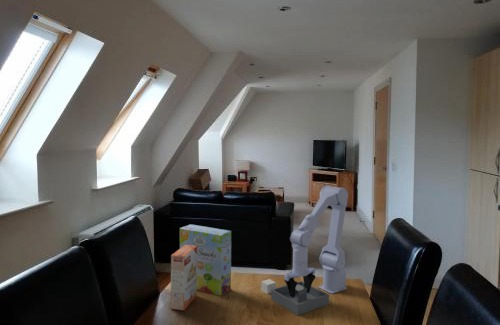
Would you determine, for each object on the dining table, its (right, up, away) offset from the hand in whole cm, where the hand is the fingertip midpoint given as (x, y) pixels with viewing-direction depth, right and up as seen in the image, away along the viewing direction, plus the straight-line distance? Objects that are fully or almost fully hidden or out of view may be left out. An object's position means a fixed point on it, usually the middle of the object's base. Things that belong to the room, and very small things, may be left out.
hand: (299, 294), depth 146 cm
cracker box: (-45, -3, -1) cm, 45 cm away
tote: (0, -3, 0) cm, 3 cm away
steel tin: (0, -2, +1) cm, 2 cm away
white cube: (-12, -2, +10) cm, 16 cm away
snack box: (-39, -2, +13) cm, 41 cm away
